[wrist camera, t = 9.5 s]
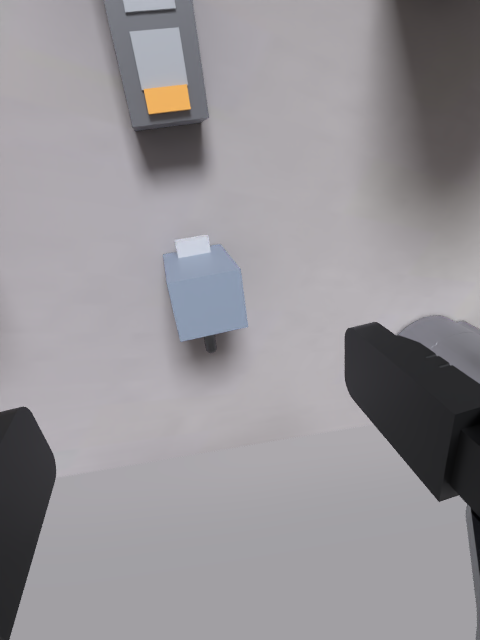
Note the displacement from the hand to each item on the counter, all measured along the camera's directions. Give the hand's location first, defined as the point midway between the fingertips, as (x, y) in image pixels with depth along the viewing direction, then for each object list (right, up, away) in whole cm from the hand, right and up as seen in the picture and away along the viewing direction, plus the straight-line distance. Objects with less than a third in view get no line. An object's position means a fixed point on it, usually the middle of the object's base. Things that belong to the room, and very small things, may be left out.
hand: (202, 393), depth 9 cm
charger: (-2, +4, +20) cm, 21 cm away
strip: (-5, +20, +12) cm, 24 cm away
